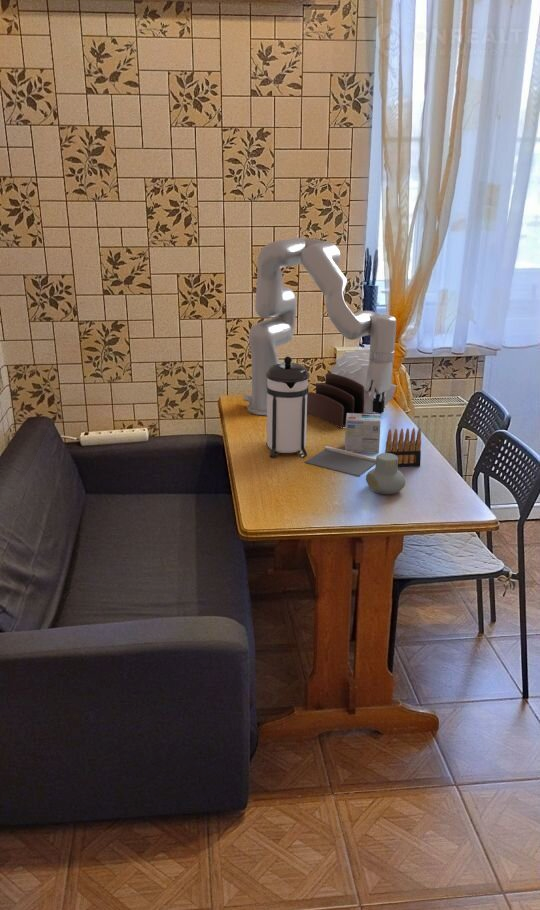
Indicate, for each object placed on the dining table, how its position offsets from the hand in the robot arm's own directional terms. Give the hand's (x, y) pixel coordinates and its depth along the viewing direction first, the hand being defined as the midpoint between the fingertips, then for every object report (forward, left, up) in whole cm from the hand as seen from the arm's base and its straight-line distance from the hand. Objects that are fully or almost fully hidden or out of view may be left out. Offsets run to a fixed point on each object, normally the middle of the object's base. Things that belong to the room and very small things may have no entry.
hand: (378, 412), depth 243 cm
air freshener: (+19, -34, -9) cm, 40 cm away
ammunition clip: (+16, -16, -9) cm, 24 cm away
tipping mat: (0, -24, -9) cm, 25 cm away
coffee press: (-20, -24, -9) cm, 33 cm away
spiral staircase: (-20, +28, -9) cm, 36 cm away
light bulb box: (0, -10, -9) cm, 14 cm away
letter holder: (-21, +10, -10) cm, 25 cm away
